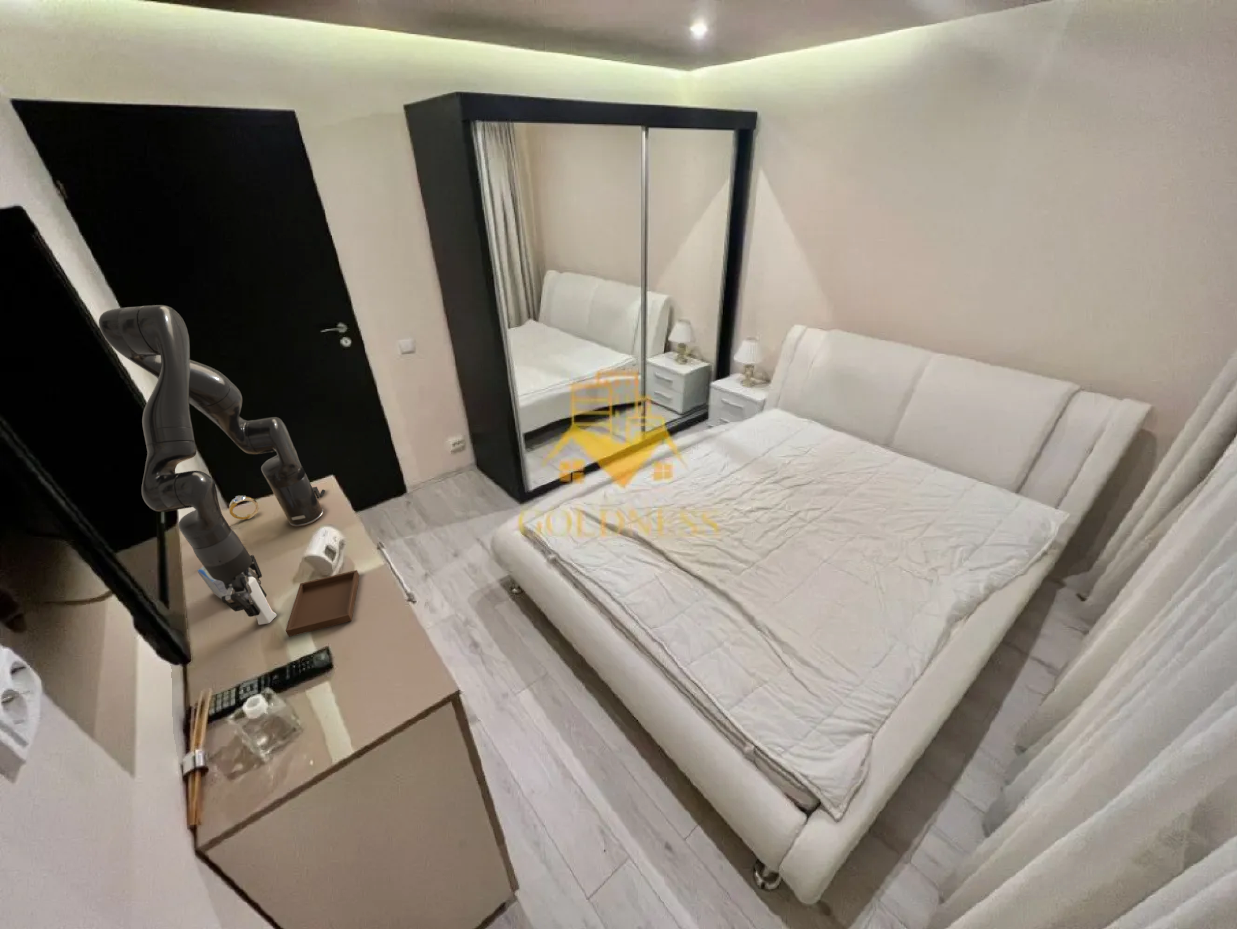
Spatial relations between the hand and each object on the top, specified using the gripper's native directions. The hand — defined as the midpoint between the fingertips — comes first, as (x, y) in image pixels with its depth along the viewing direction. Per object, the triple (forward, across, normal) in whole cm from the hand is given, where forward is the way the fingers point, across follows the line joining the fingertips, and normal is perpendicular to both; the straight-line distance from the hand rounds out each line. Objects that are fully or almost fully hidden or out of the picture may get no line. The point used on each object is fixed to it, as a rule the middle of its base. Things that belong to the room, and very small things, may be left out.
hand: (258, 605), depth 111 cm
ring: (+5, +46, +16) cm, 49 cm away
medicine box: (+5, +12, +11) cm, 17 cm away
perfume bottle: (+5, 0, 0) cm, 5 cm away
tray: (+5, 0, -13) cm, 14 cm away
